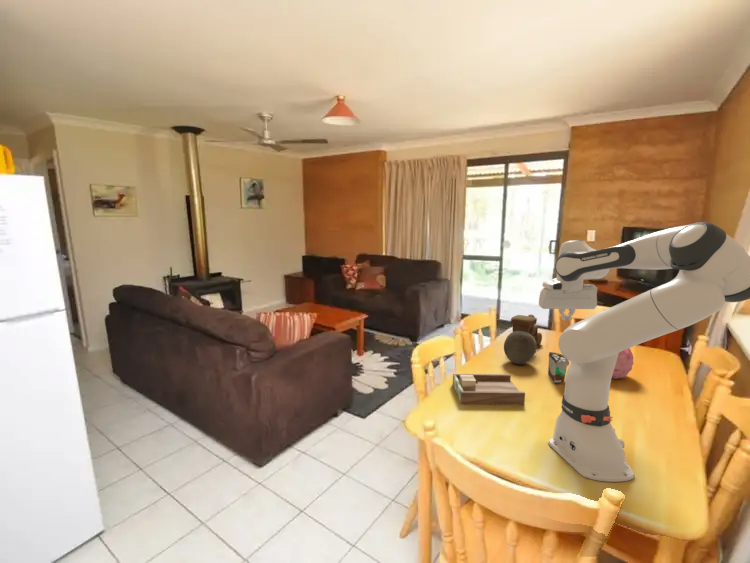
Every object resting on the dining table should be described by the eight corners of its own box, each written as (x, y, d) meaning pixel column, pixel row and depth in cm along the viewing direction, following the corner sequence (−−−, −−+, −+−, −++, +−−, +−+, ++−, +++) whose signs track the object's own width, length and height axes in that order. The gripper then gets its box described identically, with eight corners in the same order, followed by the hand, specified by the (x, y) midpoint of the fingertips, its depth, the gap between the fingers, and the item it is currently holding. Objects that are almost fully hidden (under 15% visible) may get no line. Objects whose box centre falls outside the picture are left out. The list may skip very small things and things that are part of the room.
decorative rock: (595, 351, 169) (594, 330, 161) (632, 354, 161) (633, 332, 153) (593, 385, 158) (591, 364, 150) (633, 390, 150) (634, 368, 142)
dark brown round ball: (532, 371, 161) (535, 339, 158) (499, 364, 168) (501, 333, 165) (537, 360, 172) (539, 330, 170) (506, 355, 180) (508, 326, 177)
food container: (571, 386, 146) (573, 363, 144) (555, 385, 147) (557, 362, 145) (562, 374, 158) (564, 352, 156) (547, 373, 159) (548, 351, 157)
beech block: (475, 390, 137) (475, 380, 137) (462, 390, 138) (462, 380, 137) (472, 384, 142) (472, 374, 142) (459, 384, 142) (459, 374, 142)
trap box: (524, 404, 132) (525, 392, 131) (461, 403, 132) (461, 392, 132) (509, 384, 148) (509, 374, 147) (452, 384, 148) (453, 373, 147)
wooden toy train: (529, 353, 182) (531, 321, 179) (507, 348, 189) (509, 317, 186) (543, 343, 196) (545, 314, 193) (522, 339, 204) (524, 310, 201)
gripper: (592, 282, 137) (589, 317, 139) (538, 282, 137) (535, 317, 140) (602, 285, 131) (598, 322, 133) (545, 285, 131) (542, 322, 134)
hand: (565, 320), depth 137 cm, fingers closed
